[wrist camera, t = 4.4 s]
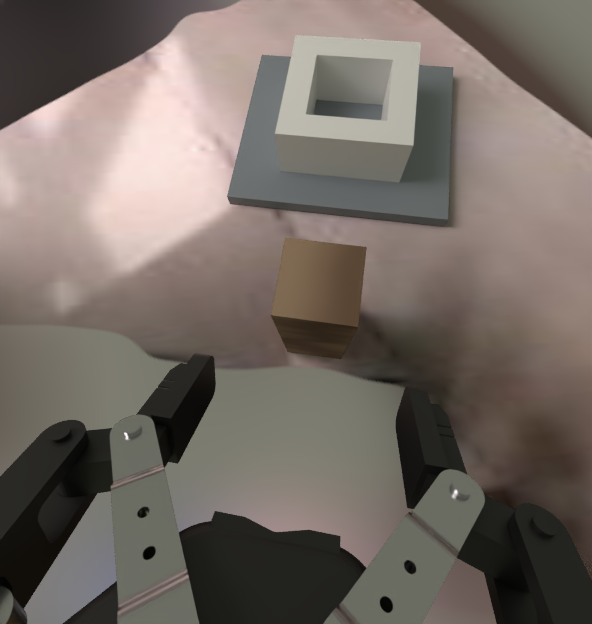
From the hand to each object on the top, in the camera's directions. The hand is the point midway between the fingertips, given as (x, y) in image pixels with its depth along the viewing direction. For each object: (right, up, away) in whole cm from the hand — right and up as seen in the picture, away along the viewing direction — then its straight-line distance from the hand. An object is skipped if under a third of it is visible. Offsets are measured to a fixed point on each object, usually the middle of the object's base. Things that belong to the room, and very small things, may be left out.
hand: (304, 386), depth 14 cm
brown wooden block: (+1, +2, +11) cm, 12 cm away
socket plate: (+4, +19, +16) cm, 25 cm away
